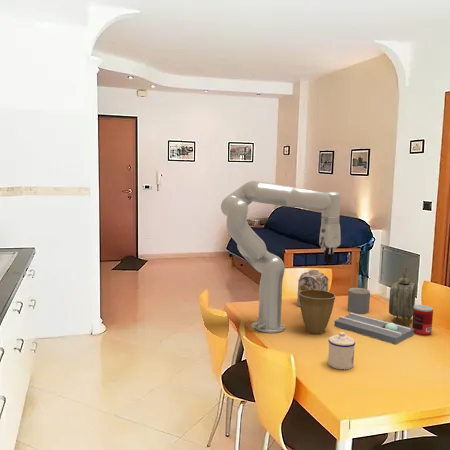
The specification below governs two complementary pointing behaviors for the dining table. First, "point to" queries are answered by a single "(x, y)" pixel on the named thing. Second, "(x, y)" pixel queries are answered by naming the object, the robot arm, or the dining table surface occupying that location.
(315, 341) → the dining table surface
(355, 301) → the coffee mug
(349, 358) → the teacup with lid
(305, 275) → the decorative jar
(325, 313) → the plant pot
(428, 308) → the canned food
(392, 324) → the ball
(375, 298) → the dining table surface
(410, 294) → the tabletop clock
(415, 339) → the dining table surface
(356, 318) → the board
